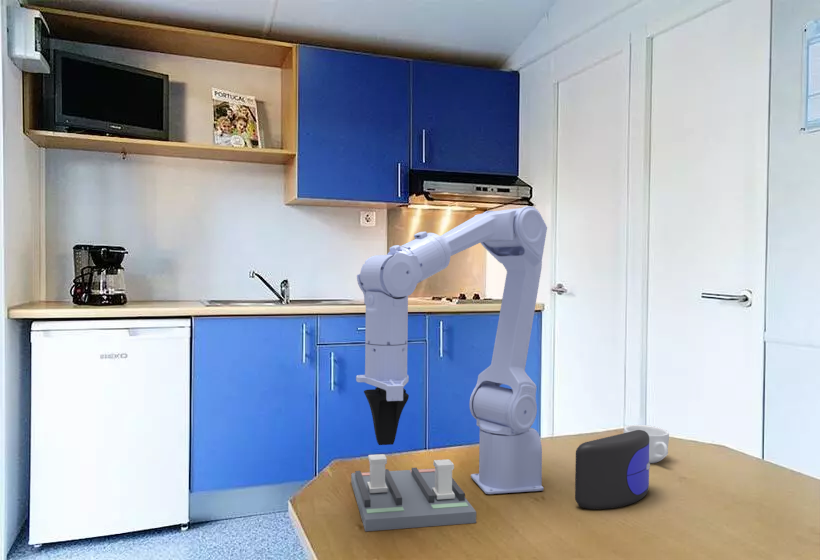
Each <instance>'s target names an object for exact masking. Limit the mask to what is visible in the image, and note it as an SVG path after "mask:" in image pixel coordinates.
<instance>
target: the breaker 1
mask: <svg viewBox="0 0 820 560" xmlns="http://www.w3.org/2000/svg"><path fill="white" fill-rule="evenodd" d="M367 459H368V461H369V462H368V463H369V472H370V482H367V487H368V490H369V492H370V493H381V492H388V488H387V486H386V483H385V469H386V465H387V464H388V458H387V456H386V455H385V453H384V454H383V453H382V454H380V453H379V454H368V456H367Z"/></svg>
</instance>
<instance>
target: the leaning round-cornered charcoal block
mask: <svg viewBox="0 0 820 560" xmlns="http://www.w3.org/2000/svg"><path fill="white" fill-rule="evenodd" d="M650 468H651V463H649V435H648V433H647V432H645V431H643V430H635V431H631V432H627V433H624V432H623V433H619V434H615V435H611V436H607V437H606V436H605V437H602V438H597V439H593V440H589V441H585V442H582V443H580V444H579V446H578V447H577V448H576V450H575V468H574V469H575V471H574V472H575V477H574V478H575V482H574V483H575V485H574V489H575V490H574V499H575V503H576V504H577V505H578V506H579V507H580V508H583V509H586V510H587V509H588V510H607V509H616V508H623V507H625V506H629V505H633V504H634V503H637V502H639V501H640V500H642V499H643V498H645V496H646V495H647V494H648V491H649V487H650Z"/></svg>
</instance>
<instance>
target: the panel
mask: <svg viewBox="0 0 820 560" xmlns="http://www.w3.org/2000/svg"><path fill="white" fill-rule="evenodd" d="M350 478H351V480H350V483H351V488H352V490H353V493H354V496H355V500H356V503H357V508H358V511H359V513H360V514H359V515H360V518H361V521H362V525H363V528H364V532H374V531H375V532H376V531H386V530H387V531H388V530H400V529H413V528H427V527H428V528H429V527H438V526H439V527H441V526H451V525H463V524H465V525H467V524H477V511H476V509H475V508H474V507H473V506H472V504H471V503H470V501H468V499H467V498H466V497H465V496H466V495H465V494H466V493H465V492H464V490H463V489H462V488H461V487H460V485H459V484H458V483H457V482H456V480H455V479H454V478H453V477H452V491H453V492H454V494H455V498H454V499H439V500H437V499H436V497H435V495H434V494H433V492H432V488H435V468H421V469H420V468H419V469H418V468H417V467H411V469H403V470H389V469H388V468H385V483H386V486H387V488H388V492H381V493H370V492H369V490H368V487H367V482H370V471H367V472H362V471H361V470H355V471H354V472H352V473H351V477H350Z"/></svg>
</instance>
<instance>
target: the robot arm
mask: <svg viewBox="0 0 820 560" xmlns="http://www.w3.org/2000/svg"><path fill="white" fill-rule="evenodd" d="M547 231H548V226H547V224H546V221H545V220H544V219H543V216H542V215H541V212H539V210H538V209H537V208H536V207H534V206H533V205H532V206H530V205H527V206H523V207H520V208H519V207H518V208H510V209H502V210H486V211H484V212H482V213H478V214H475V215H474V216H473V217H471V218H469V219H468V220H466V221H464V222H462V223H461V224H458V225H457V226H455V227H453V228H452V229H450V230H448V231H446V232H444V233H443V234H441V235H440V234H437V233H436V232H435V233H434V232H427V231H419V232H417V233H414V234H413V237H414V239H413V240H412V239H411V240H410V241H408V242H407V243H404V244H402V245H399V244H396V245H392V246H390V247H389V251H388V253H386V254H376V255H372V256H370V257H368V258H367V259H366V260H365V261H364V263H363V264H362V265H361V269H360V273H358V274H357V275H356V281H357V284H358V286H359V289H360V291H361V292H362V293H363V303H364V305H365V326H364V327H365V334H364V335H365V337H364V338H365V345H364V346H365V348H364V349H365V351H364V353H365V356H364V359H365V361H364V362H365V363H364V374H357V375H356V376H355V380H356V382H357V383H365V384H368V385H370V386H374V387H375V388H374V389H364V390H363V393H364V395H365V397H366V399H367V403H368V406H369V408H370V411H371V416H372V422H373V423H372V424H373V429H374V434H375V439H376V442H377V445H378V446H387V445H388V446H389V445H394V443H395V440H396V436H397V432H398V426H399V422H400V419H401V415H402V412H403V410H404V408H405V406H406V404H407V403H408V401H409V397H410V396H409V394H408V393H407V390H406V389H405V386H406V385H407V384H408V383H409V381H410V380H409V379H410V378H409V374H408V339H409V337H408V336H409V335H408V334H409V333H408V330H409V329H408V328H409V325H408V324H409V323H408V322H409V319H408V316H409V313H408V312H409V296H411V295H412V294H413V293H414V291H415V290H416V287H417V285H418V284H419V283H421V282H423V281H425V280H426V279H429V278H430V277H433V276H434V275H436V274H438V273H440V272H441V271H443V270H445V269H447V268H448V266H449V265H450V261H451V256H454V255H457V254H458V253H460V252H463V251H466V250H467V249H470V248H472V247H474V246H476V245H479V244H480V245H481V246H483V248H484V249H485V250H486V251H487V252H488V253H490V255H491V256H493V258H494V259H496V260H497V262H498V263H499V264H502V266H503V267H504V269H505V270H506V275H505V281H504V287H503V293H502V299H501V305H500V309H499V310H500V311H499V317H498V322H497V327H496V334H495V340H494V346H493V350H492V351H493V352H492V358H491V362H490V363H491V364H490V365H489V366H488V367H486V368H485V369H484V370H482V371H481V372H480V373H479V374H478V375H477V381H476V385H475V387H474V388H473V390H472V392H471V394H470V397H469V398H470V399H469V411H470V413H471V416H472V417H473V418H474V419H475V420H476V426H477V427H478V428H479V443H478V446H479V449H478V450H479V453H478V454H479V456H478V457H479V458H478V459H479V460H478V462H479V465H478V467H479V468H478V473H471V474H470V478H471V479H472V480H473V481H474V482H475V483H476V485H478V487H479V488H480V489H481V490H482V491H483V493H485V494H487V495H494V494H495V495H496V494H497V495H498V494H508V493H509V494H510V493H525V492H540V491H541V492H542V491H544V486H542V483H543V482H542V479H543V477H542V475H543V473H542V472H543V471H542V469H543V464H542V463H543V447H542V446H543V445H542V441H541V437H540V435H539V432H538V430H536V429H535V428H533V427H532V426H533V424H534V423H535V420H536V417H537V414H538V413H537V412H538V407H537V406H538V404H537V397H536V395H537V384H536V383H535V382H534V381H533V380H532V378H531V377H530V376H529V375H528V374H527V372H526V364H527V360H528V353H529V347H530V346H529V345H530V340H531V334H532V330H533V329H532V327H533V322H534V317H535V310H536V304H537V299H538V293H539V286H540V280H541V275H542V268H543V267H542V266H543V257H544V256H543V255H544V248H545V242H546V238H547V237H546V236H547ZM501 385H506V386H508V387H509V388H508V387H503V386H501Z"/></svg>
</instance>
